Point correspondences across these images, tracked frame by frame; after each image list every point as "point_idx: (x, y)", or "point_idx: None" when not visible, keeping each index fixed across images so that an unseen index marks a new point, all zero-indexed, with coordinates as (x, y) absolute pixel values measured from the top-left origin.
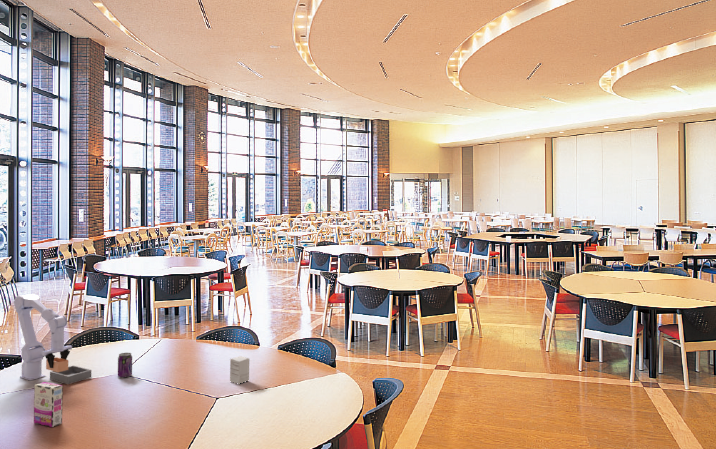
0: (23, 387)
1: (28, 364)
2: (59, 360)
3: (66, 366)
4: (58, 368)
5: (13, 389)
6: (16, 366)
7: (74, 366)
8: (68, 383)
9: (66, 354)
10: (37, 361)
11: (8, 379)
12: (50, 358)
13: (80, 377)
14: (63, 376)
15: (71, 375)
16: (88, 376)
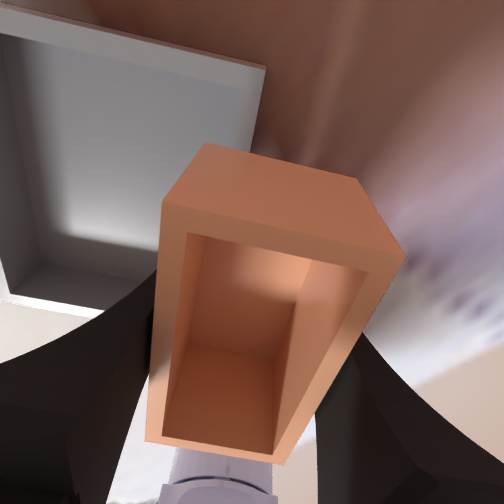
0: (404, 322)
1: (271, 484)
2: (175, 362)
3: (227, 165)
4: (364, 198)
5: (447, 342)
6: (155, 493)
7: (6, 276)
8: (261, 65)
9: (81, 373)
10: (230, 482)
11: (299, 439)
12: (463, 442)
13: (110, 30)
14: None
15: (212, 67)
16: (11, 5)
